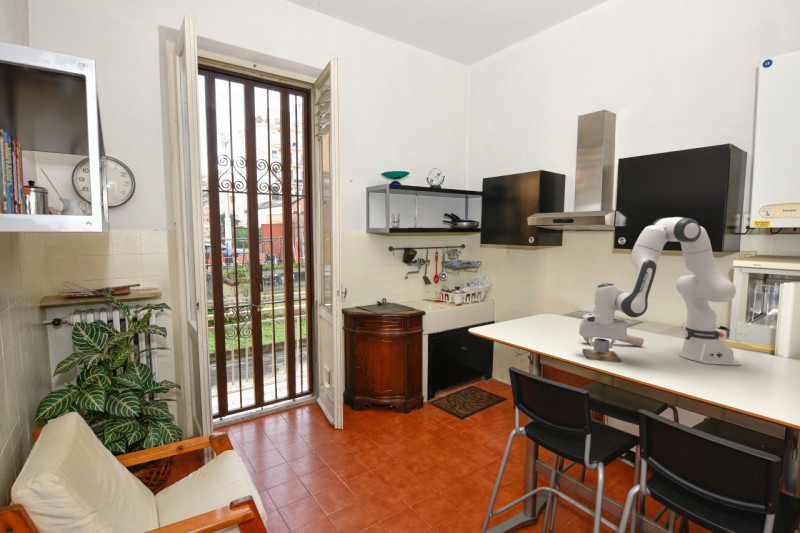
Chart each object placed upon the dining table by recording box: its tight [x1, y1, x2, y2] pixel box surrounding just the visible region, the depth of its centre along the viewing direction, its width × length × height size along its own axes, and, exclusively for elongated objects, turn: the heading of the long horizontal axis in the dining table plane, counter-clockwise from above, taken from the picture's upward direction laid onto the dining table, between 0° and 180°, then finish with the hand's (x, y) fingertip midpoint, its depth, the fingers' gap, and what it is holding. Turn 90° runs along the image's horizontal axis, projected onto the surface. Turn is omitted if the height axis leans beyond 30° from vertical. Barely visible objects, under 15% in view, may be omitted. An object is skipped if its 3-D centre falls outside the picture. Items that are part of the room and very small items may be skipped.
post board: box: [582, 348, 622, 363], centre depth 191 cm, size 14×12×6 cm
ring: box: [593, 337, 611, 353], centre depth 191 cm, size 6×6×5 cm
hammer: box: [582, 312, 645, 347], centre depth 212 cm, size 16×5×30 cm
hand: (601, 346), depth 191 cm, fingers closed on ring, 6 cm apart
